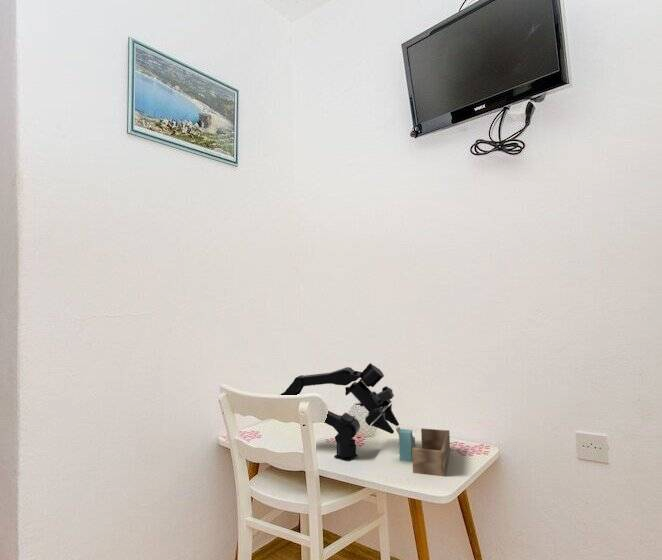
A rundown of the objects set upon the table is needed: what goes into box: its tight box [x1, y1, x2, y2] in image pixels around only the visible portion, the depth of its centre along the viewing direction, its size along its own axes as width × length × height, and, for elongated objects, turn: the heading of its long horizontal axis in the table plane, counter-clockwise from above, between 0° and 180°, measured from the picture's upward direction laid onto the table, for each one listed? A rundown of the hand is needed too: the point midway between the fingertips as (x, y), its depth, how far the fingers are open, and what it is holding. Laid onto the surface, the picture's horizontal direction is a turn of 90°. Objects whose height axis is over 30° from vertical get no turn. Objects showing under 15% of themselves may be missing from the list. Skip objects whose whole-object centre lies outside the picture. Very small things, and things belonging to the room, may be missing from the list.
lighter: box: [395, 426, 416, 447], centre depth 162 cm, size 7×2×8 cm, turn 78°
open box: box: [411, 427, 451, 478], centre depth 144 cm, size 10×23×9 cm, turn 160°
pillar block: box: [398, 428, 414, 462], centre depth 147 cm, size 4×4×11 cm
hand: (395, 429), depth 149 cm, fingers open, 9 cm apart
